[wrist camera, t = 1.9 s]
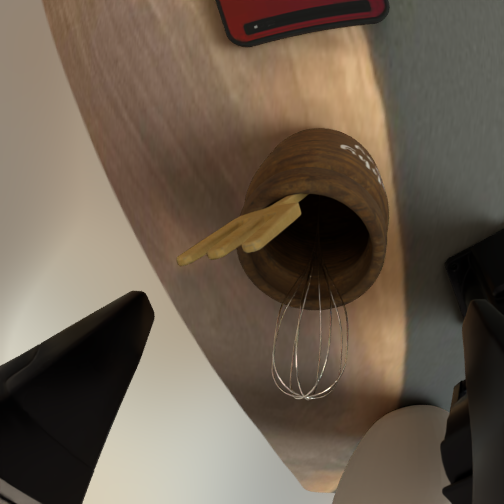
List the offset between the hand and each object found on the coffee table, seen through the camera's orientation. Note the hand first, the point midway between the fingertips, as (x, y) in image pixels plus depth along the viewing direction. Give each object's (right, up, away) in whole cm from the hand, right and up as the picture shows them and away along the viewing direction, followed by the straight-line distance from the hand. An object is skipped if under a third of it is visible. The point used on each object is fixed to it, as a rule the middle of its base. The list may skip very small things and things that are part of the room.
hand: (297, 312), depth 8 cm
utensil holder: (+2, +5, +8) cm, 10 cm away
